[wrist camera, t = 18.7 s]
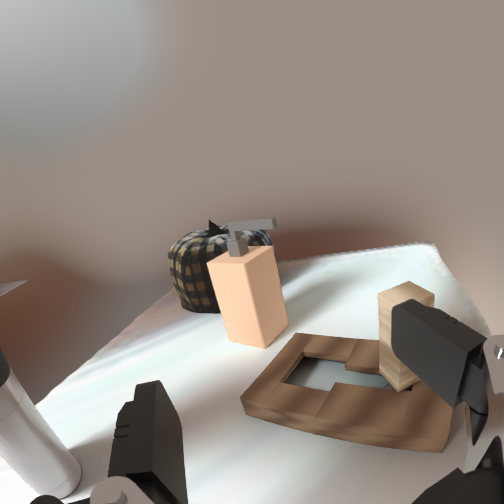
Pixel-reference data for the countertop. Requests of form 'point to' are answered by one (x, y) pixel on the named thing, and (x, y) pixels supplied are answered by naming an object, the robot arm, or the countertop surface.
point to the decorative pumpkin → (204, 264)
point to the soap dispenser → (249, 287)
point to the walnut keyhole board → (348, 399)
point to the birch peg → (388, 362)
